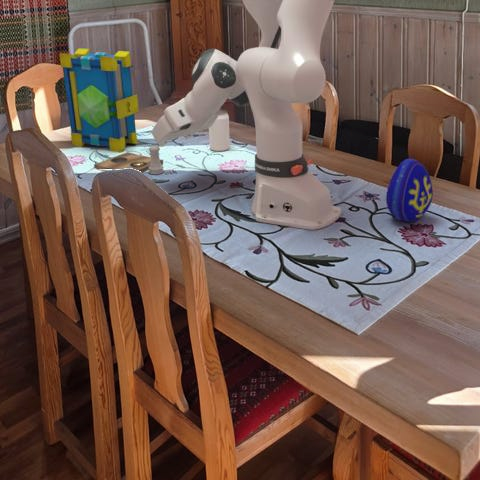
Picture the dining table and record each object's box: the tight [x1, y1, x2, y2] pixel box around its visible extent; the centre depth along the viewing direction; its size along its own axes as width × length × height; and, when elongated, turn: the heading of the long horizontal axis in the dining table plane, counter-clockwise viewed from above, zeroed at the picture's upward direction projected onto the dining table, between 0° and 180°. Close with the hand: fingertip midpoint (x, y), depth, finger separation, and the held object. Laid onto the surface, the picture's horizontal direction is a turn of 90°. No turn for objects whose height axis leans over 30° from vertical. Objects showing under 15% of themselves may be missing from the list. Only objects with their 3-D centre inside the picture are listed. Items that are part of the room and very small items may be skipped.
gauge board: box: [93, 152, 164, 173], centre depth 206 cm, size 15×14×1 cm
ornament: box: [385, 158, 434, 223], centre depth 161 cm, size 11×9×15 cm
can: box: [208, 109, 231, 153], centre depth 217 cm, size 6×6×12 cm
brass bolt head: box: [133, 162, 143, 166], centre depth 203 cm, size 3×3×1 cm
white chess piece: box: [147, 144, 164, 176], centre depth 199 cm, size 4×4×8 cm
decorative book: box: [58, 47, 139, 153], centre depth 221 cm, size 14×23×30 cm, turn 62°
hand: (173, 140), depth 192 cm, fingers open, 8 cm apart
